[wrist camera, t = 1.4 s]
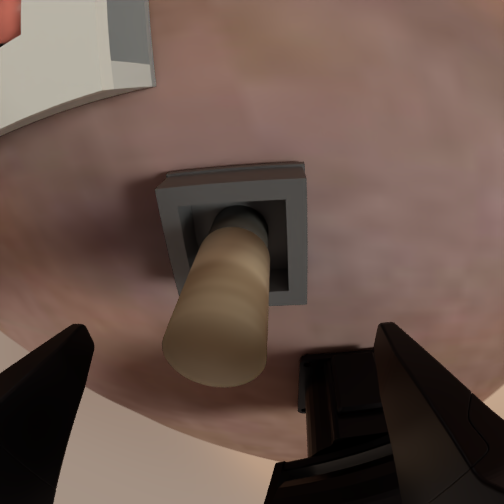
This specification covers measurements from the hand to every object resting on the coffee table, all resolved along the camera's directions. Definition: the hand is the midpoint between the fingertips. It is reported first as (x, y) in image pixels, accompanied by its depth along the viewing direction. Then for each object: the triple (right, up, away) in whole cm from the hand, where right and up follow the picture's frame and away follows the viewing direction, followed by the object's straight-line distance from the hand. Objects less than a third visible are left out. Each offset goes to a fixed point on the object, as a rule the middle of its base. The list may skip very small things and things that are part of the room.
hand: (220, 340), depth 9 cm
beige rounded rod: (0, +3, +6) cm, 7 cm away
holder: (0, +4, +6) cm, 7 cm away
